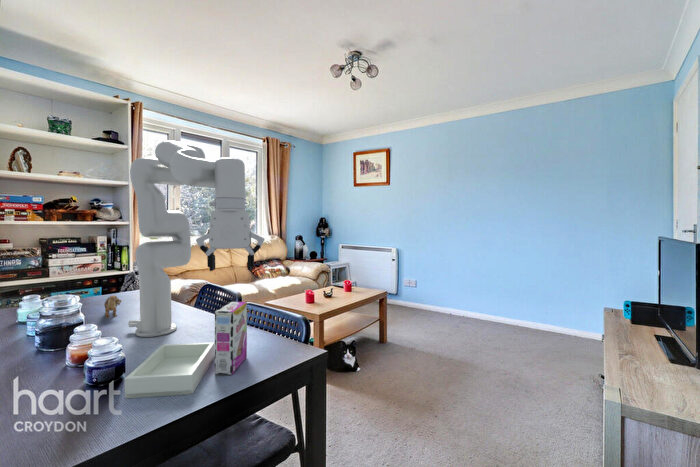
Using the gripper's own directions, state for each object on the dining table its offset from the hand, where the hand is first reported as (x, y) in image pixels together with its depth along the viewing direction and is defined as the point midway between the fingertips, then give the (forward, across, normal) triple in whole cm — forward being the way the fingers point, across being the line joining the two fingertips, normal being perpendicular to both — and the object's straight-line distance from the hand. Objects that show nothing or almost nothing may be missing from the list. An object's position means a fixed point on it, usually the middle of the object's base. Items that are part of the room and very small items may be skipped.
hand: (231, 269), depth 90 cm
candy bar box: (+26, 0, 0) cm, 26 cm away
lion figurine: (+26, -58, +56) cm, 85 cm away
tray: (+26, -13, -4) cm, 30 cm away
